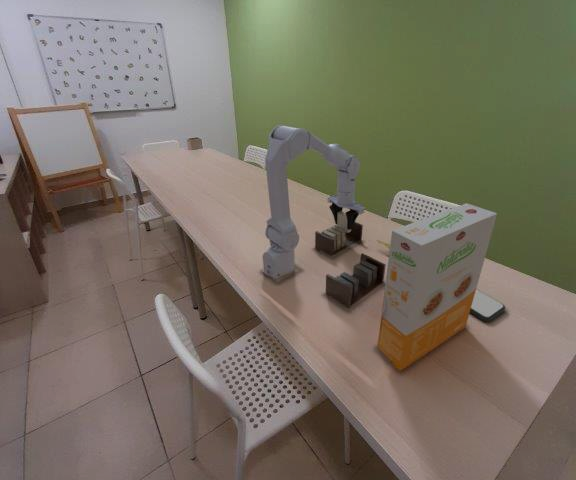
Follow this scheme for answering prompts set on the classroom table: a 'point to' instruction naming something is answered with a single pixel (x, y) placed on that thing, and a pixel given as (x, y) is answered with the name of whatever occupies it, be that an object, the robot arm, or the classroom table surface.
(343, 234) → the dark brown rack
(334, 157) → the robot arm
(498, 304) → the phone case
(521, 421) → the classroom table surface
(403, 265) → the cereal box
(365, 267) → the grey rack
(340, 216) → the white book
